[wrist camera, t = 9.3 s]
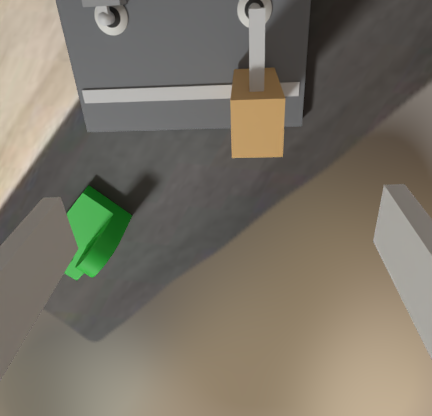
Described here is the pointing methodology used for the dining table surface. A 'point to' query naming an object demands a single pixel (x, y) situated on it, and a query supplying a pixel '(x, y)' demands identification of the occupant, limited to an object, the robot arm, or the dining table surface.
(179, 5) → the plate
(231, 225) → the dining table surface
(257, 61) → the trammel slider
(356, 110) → the dining table surface
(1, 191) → the dining table surface
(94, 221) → the mechanical part
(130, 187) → the dining table surface
